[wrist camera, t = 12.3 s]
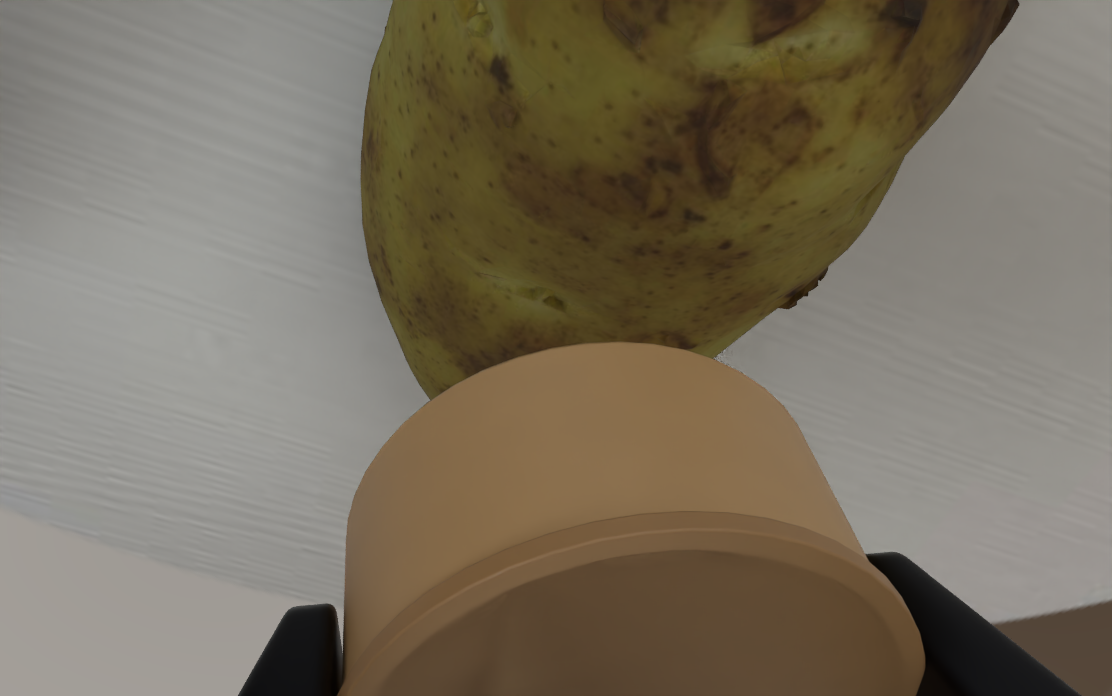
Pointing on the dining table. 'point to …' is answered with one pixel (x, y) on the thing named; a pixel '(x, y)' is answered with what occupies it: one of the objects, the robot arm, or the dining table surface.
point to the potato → (636, 162)
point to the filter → (612, 543)
